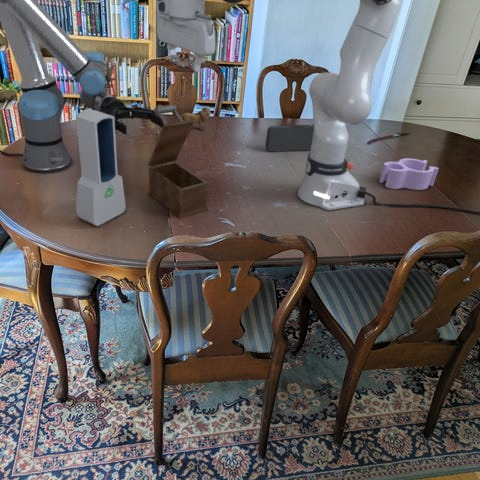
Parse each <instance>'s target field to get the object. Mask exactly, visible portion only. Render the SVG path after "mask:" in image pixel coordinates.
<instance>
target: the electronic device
mask: <svg viewBox="0 0 480 480" xmlns="http://www.w3.org/2000/svg"><path fill="white" fill-rule="evenodd" d="M75 123H76V132H77V141H78V142H77V143H78V153H79V154H78V155H79V162H80V173H81V176H80V178H79V179H78V181H77V183H76V185H77V186H76V199H75V200H76V201H75V212H76V214H77V217H78V218H80V219H81V220H83V221H85V222H86V223H87V222H88V223H90V224H91V225H93V226H96V227H99V226H100V225H102V224H105V223H106V222H108V221H111V220H112V219H114V218H116V217H117V216H120V215H122V214H124V212H125V210H126V208H127V205H126V198H125V190H124V189H125V188H124V184H123V183H124V182H123V177H122V176H121V175H120V174H118V160H117V159H118V158H117V157H118V156H117V140H116V139H117V138H116V133H115V120H114V116H111V115H108V114H105V113H102V112H99V111H96V110H93V109H85V110H83V111H80V112H79V113H77V115H75Z"/></svg>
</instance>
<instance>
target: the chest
mask: <svg viewBox="0 0 480 480" xmlns="http://www.w3.org/2000/svg"><path fill="white" fill-rule="evenodd" d="M148 188H149V189H148V193H149V195H150V196H151V197H153V198H154V199H155V200H157V202H159V203H160V204H162V205H163V206H164V207H165V208H167V209H168V210H170V212H172V213H173V214H174V215H176V216H177V217H178V218H183V217H186V216H190V215H193V214H196V213H199V212H202V211H206V210H207V195H208V194H207V193H208V182H207V181H206V180H204V179H203V178H200V177H199V176H198V175H196V174H194V173H193V172H192V171H191V170H189V169H187V168H186V167H184V166H183V165H182V164H180V163H178V162H177V161H173V162H168V163H164V164H159V165H155V166H151V167H149V166H148Z"/></svg>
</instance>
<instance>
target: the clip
mask: <svg viewBox="0 0 480 480" xmlns="http://www.w3.org/2000/svg"><path fill="white" fill-rule="evenodd" d="M427 164H428V160H427V159H423V160H421V159H417V158H412V157H411V158H409V157H407V158H401V159H400V160H398V161H386V162H384V163H383V166H382V170H381V173H380V178H379V181H378V182H379V183H380V184H381V183H384V182H385V184H384V187H385V188H388V189H391V190H399V189H408V190H414V191H416V190H417V191H424V190H426V189H428V188H429V186H430V187H433V186H434V183H435V180H436V178H437V175H438V172H439V167H437V166H432V165H430V166H429V167H428V169H427V170H426V168H427Z"/></svg>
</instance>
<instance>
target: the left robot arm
mask: <svg viewBox="0 0 480 480" xmlns="http://www.w3.org/2000/svg"><path fill="white" fill-rule="evenodd" d="M0 24H1V27H2V29H3V32H4V34H5V37H6V40H7V43H8V46H9V48H10V50H11V53H12V56H13V58H14V62H15V64H16V66H17V69H18V71H19V74H20V78H21V82H20V83H19V88H20V90H21V93H22V94H20V96H19V98H18V111H19V113H20V119H21V125H22V132H23V136H24V148H23V153H8V152H6V151H3V150H1V149H0V154H2V155H4V156H8V157H22V158H21V159H22V160H21V161H22V166H23V168H24V169H25V170H27V171H29V172H33V173H39V174H46V173H56V172H61V171H63V170H66V169H67V168H69V167H70V166H71V163H72V159H71V155H70V153H69V151H68V150H67V149H68V148H67V147H66V145H65V143H64V140H63V132H62V123H61V118H62V114H63V111H64V108H65V97H64V95H63V92H62V91H61V89H60V88H59V86H58V83H57V81H56V78H55V77H54V76H53V75H51V74H50V73H49V72H48V69H47V65H46V62H45V60H44V56H43V53H42V51H41V48H40V44H41V45H42V46H43V47H44V48H45V49H46V50H47V51H48V52H49V53H50V54H51V55H52V56H53V57H54V58H55V60H57V61H58V62H59V63H60V64H61V66H63V68H64V69H65V70H67V72H69V74H70V75H71V76H72V77H73V78H74V79H75V80H76V82H78V83H79V86H80V88H81V89H80V92H79V99H80V101H81V103H82V104H83V105H84V106H86V108H88V109H89V110H96V111H99V112H102V113H105V114H108V115H111V116H114V120H115V129H116V131H117V132H119V133H121V134H123V135H127V125H126V124H125V123H124V122H123V123H121V121H120V122H119V120H121V119H122V118H123V119H122V120H125V119H132V120H133V119H141V120H142V119H143V120H149V121H150V122H151V123H153V124H155V125H157V126H158V127H161V128H163V126H164V123H163V122H162V120H161V118H160V117H159V115H158V114H155V111H154V109H151V108H148V107H142V106H138V105H136V104H133V105H132V106H131V107H130V106H126V104H124V102H123V101H122V100H121V99H120V98H118V97H117V96H116V97H114V96H112V95H113V94H111V95H110V93H109V92H108V93H106V86H107V85H106V84H107V81H106V72H105V69H106V68H105V63H106V61H105V55H104V53H102V52H100V51H95V50H90V51H89V50H87V51H83V50H82V49H81V48H80V47H79V46H78V44H77V43H76V42H74V40H73V39H72V38H71V37H70V35H68V34H67V32H66V31H65V30H64V29H63V28H62V27H61V26H60V24H58V22H57V21H56V20H55V19H54V18H53V17H52V16H51V15H50V14H49V13H48V12H47V11H46V10H45V9H44V8H43V6H42V5H41V4H40V3H39V2H38V1H37V0H0ZM39 43H40V44H39Z"/></svg>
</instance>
